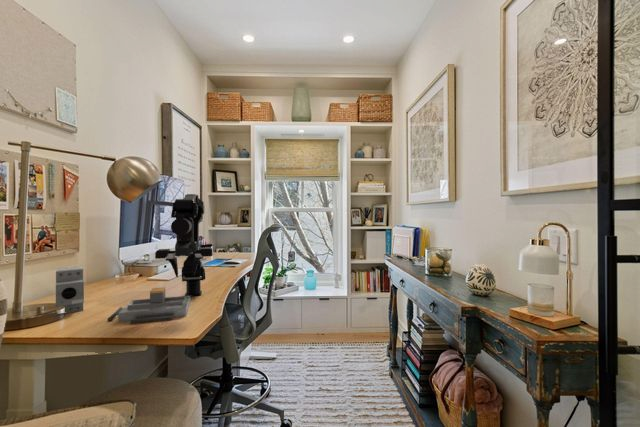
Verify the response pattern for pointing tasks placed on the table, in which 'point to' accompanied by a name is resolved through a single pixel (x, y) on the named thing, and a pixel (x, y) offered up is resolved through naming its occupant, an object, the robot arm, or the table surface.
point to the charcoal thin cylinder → (150, 319)
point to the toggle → (157, 295)
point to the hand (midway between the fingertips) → (185, 276)
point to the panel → (155, 308)
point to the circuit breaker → (70, 288)
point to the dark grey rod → (114, 314)
